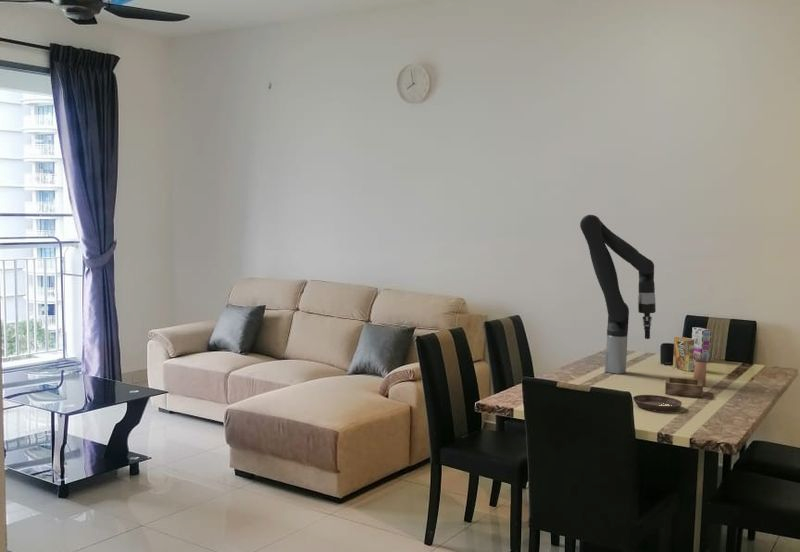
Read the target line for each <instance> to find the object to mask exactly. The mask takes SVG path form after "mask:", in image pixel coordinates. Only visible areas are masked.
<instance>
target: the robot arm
mask: <svg viewBox="0 0 800 552" xmlns="http://www.w3.org/2000/svg"><path fill="white" fill-rule="evenodd" d="M579 225H580V226H579V227H580V230H581V231H582V234H583V235H584V239H585V241H586V243H587V246H588V249H589V250H588V251H589V255H590V258H591V263H592V268H593V270H594V273H595V277H596V279H597V281H598V284H599V286H600V289H601V291H602V294H603V297H604V300H605V304H606V310H607V327H606V329H607V330H606V346H605V347H606V348H605V349H606V350H605V358H604V359H605V360H604V361H605V362H604V372H605V373H610V374H617V375H619V374H626V371H627V355H628V351H627V350H628V334H629V333H628V332H629V319H630V318H629V317H630V316H629V315H630V309H629V306H628V304H627V303H626V302H625V301H624V298H623V295H622V294H621V291H620V286H619V279H618V274H617V270H616V267H615V263H614V260H613V257H612V256H611V253H610V251H609V250H608V248H609V249H610V250H612V252H614V253H615V254H616V255H618V256H619V257H620V258H622V260H624V261H626V262H627V263H628V264H629V265H631V266H632V267H634V269H635V270H637V271H638V296H637V297H638V298H637V304H638V305H637V307H638V309H637V310H638V313H639V314H643V316H642V325H643V327H644V328H643V330H644V339H645V340H649V339H651V327H652V320H653V319H652V317H653V316H651V314H655V313H656V294H655V288H656V286H655V263H654V262H653V260H651V259H650V258H647V256H645V255H643V254H642V253H640V252H639V251H638V250H637V249H636V248H635V247H634V246H632V244H630V243H629V242H627V241H626V240H624V239H622V238H621V237H620V236H619V235H616V234H615V233H614V231H611V229H609V228H608V227H607V226H606V224H604V223H603V222H602V221H601V219H600V218H599V217H598V216H597V215H594V214H588V215H587V214H586V215H584V217H582V218H581V220H580V223H579ZM606 245H607V246H606Z"/></svg>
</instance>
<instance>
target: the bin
mask: <svg viewBox="0 0 800 552" xmlns="http://www.w3.org/2000/svg"><path fill="white" fill-rule="evenodd" d="M664 387H665V389H664V390H665V391H664V392H665V393H664V395H665V394H669V395H668V396H675V395H678V396H677V397H685V396H689V398H696V399H703V392H704V391H703V385H702V381H701V380H699V379H694V378H688V377H675V376H665V386H664Z"/></svg>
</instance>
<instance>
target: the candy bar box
mask: <svg viewBox="0 0 800 552" xmlns="http://www.w3.org/2000/svg"><path fill="white" fill-rule="evenodd" d="M691 339H695V342H694V361H696V357H703V358H706V362H707V363H709V362H710V357H711V343H712V342H711V340H712V330H711V329H708V328H703V327H692V330H691Z"/></svg>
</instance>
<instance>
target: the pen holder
mask: <svg viewBox="0 0 800 552" xmlns="http://www.w3.org/2000/svg"><path fill="white" fill-rule="evenodd" d="M659 347H660V349H659V350H660V354H659V355H660V357H659V358H660V361H659V362H660V365H662V364H664V365H663V366H667V365H673V356H674V342H673V343H672V342H670V343H669V342H663V343H661V344H660V346H659Z"/></svg>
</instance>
